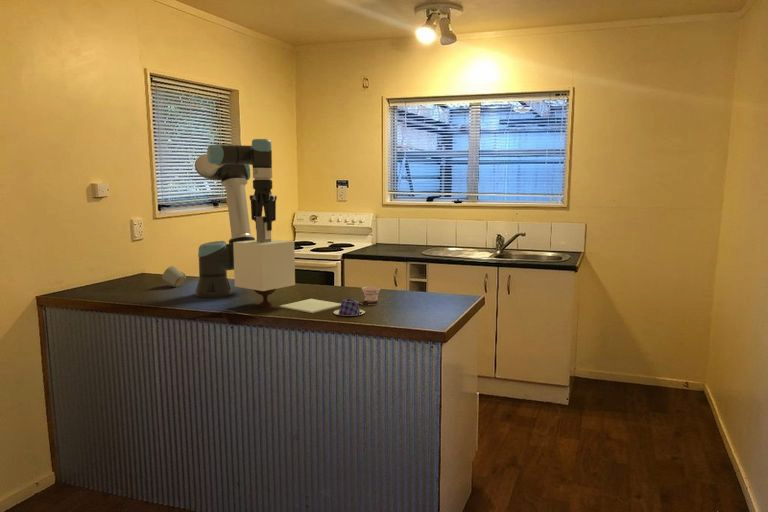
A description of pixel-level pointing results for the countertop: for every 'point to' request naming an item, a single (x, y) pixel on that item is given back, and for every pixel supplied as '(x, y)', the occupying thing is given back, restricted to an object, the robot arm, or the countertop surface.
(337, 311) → the pudding
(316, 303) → the mat
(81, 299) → the countertop surface
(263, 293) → the ice cream bowl
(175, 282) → the ceramic mug
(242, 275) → the cover
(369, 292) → the teacup
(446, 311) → the countertop surface
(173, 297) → the countertop surface
